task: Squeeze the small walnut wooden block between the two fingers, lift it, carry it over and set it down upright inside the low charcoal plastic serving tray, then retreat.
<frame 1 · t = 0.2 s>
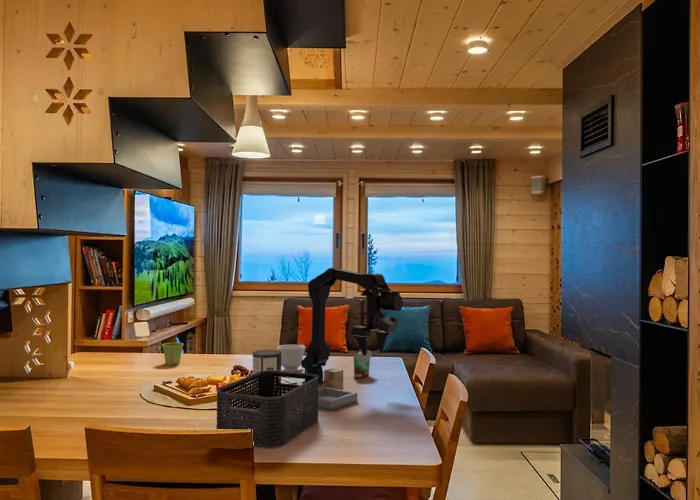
hand: (373, 353, 196), 14 cm above the table, fingers open, 9 cm apart
storage bin: (269, 430, 154), on the table
serving tray: (327, 402, 183), on the table
teacup: (293, 370, 236), on the table
food container: (363, 376, 225), on the table
plant pot: (172, 364, 247), on the table
coffee can: (266, 392, 197), on the table
walnut block: (333, 389, 202), on the table
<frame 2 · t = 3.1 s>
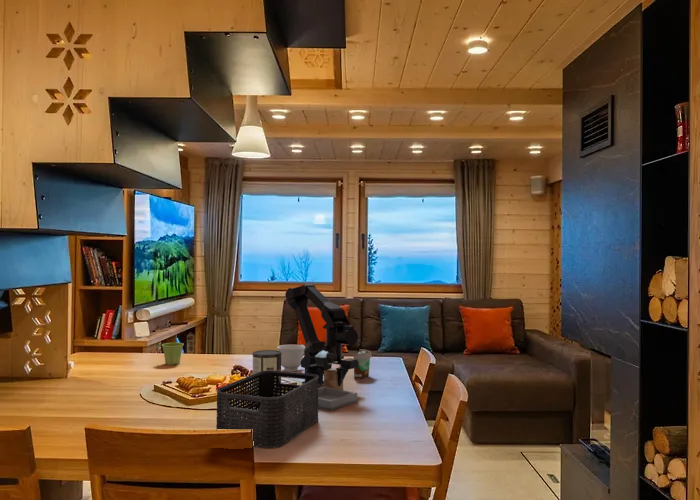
hand: (333, 385, 202), 2 cm above the table, fingers closed on walnut block, 5 cm apart
walnut block: (333, 389, 202), on the table, touching gripper
everything else where it was.
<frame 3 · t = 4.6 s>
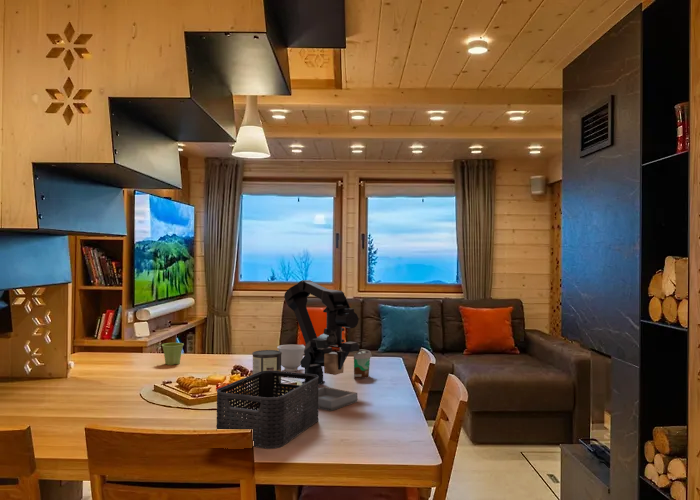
hand: (333, 368, 202), 7 cm above the table, fingers closed on walnut block, 5 cm apart
walnut block: (333, 372, 202), point 6 cm above the table, touching gripper
everything else where it was.
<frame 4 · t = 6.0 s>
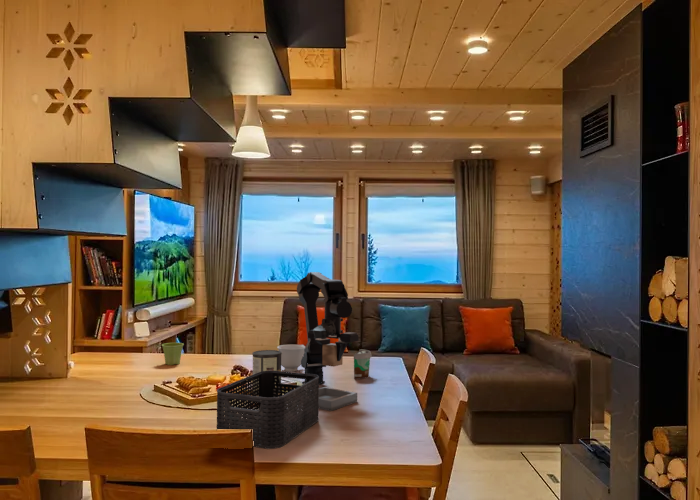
hand: (332, 360, 195), 12 cm above the table, fingers closed on walnut block, 5 cm apart
walnut block: (332, 364, 195), point 10 cm above the table, touching gripper
everything else where it was.
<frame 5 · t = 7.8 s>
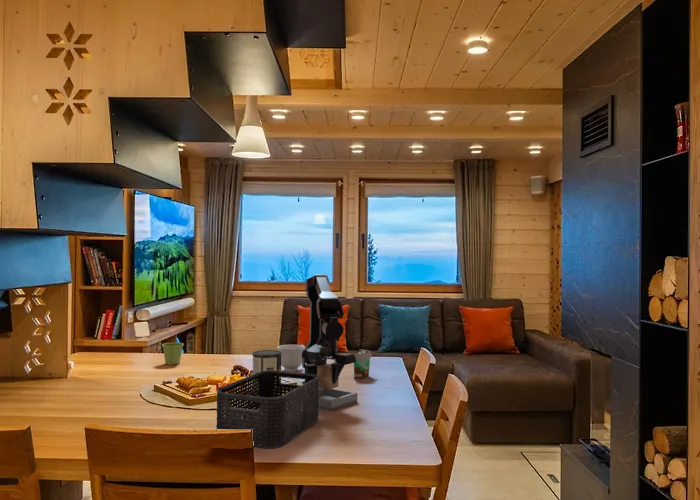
hand: (327, 382, 183), 7 cm above the table, fingers closed on walnut block, 5 cm apart
walnut block: (327, 386, 183), point 5 cm above the table, touching gripper
everything else where it was.
when the fingers open (4 cm above the table, at t = 9.1 s): walnut block drops 1 cm, resting on serving tray.
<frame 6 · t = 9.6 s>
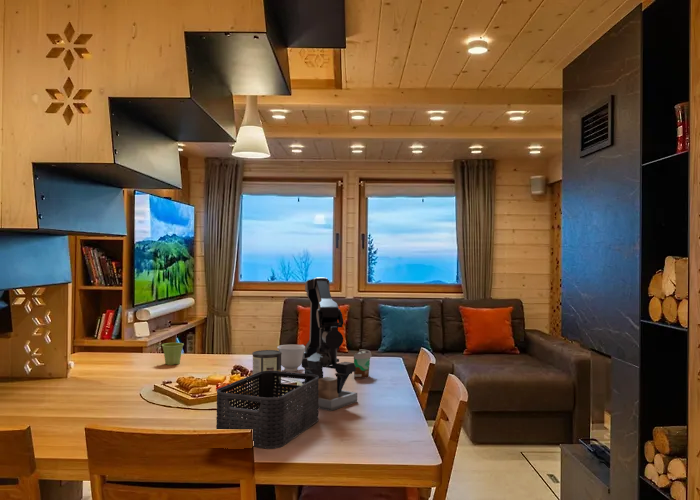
hand: (327, 391, 183), 4 cm above the table, fingers open, 9 cm apart
walnut block: (327, 400, 183), point 1 cm above the table, touching serving tray
everything else where it was.
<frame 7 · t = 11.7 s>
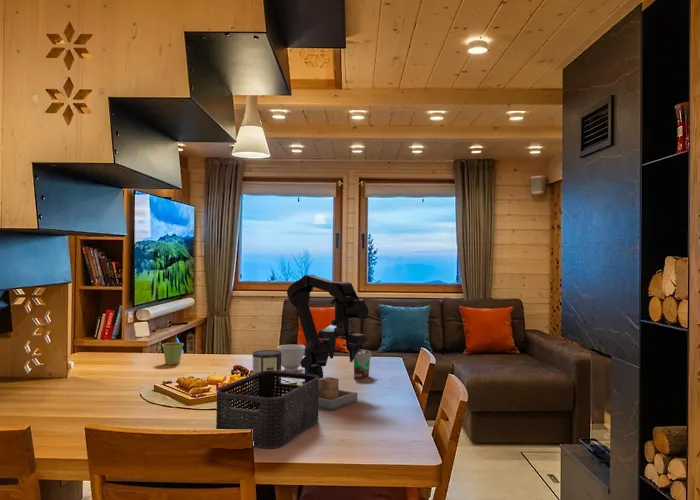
hand: (341, 360, 201), 11 cm above the table, fingers open, 9 cm apart
nothing on the table moved.
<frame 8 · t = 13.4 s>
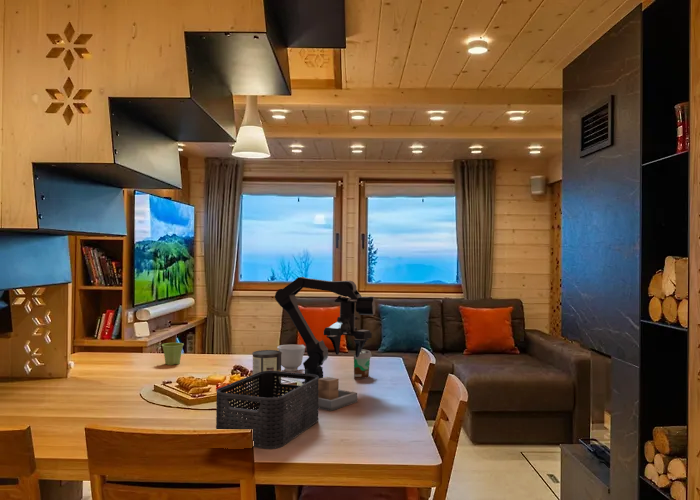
hand: (347, 355, 209), 11 cm above the table, fingers open, 9 cm apart
nothing on the table moved.
at the end: walnut block inside the target area on the serving tray (0.1 cm from its centre), point 0.8 cm above the serving tray's base; walnut block tilted 0°; the gripper is holding nothing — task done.
